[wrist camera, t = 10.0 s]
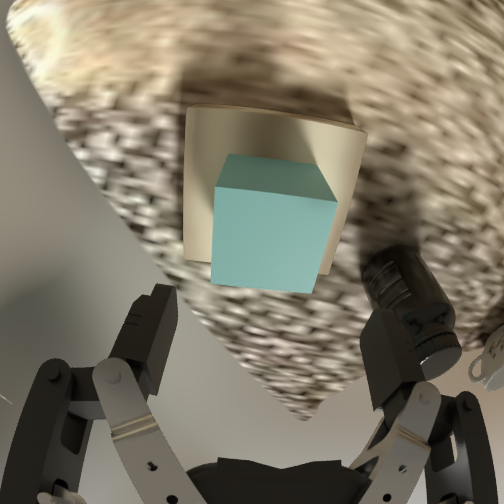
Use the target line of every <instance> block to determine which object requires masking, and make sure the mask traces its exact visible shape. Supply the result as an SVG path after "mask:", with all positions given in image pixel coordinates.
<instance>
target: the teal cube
mask: <svg viewBox="0 0 504 504" xmlns="http://www.w3.org/2000/svg"><path fill="white" fill-rule="evenodd" d="M337 205H338V201H337V199H336V198H335V196H334V194H333V192H332V190H331V188H330V187H329V185H328V183H327V181H326V179H325V178H324V176H323V174H322V172H321V171H320V169H319V167H318V165H312V164H306V163H299V162H292V161H286V160H278V159H271V158H263V157H254V156H245V155H236V154H228V156H227V158H226V161H225V163H224V166H223V168H222V171H221V173H220V176H219V178H218V181H217V183H216V186H215V196H214V214H213V234H212V258H211V283H212V284H221V285H230V286H239V287H248V288H258V289H268V290H278V291H289V292H300V293H312V290H313V287H314V284H315V281H316V278H317V274H318V271H319V268H320V265H321V261H322V258H323V255H324V251H325V248H326V244H327V241H328V237H329V234H330V230H331V227H332V223H333V220H334V216H335V212H336V208H337Z"/></svg>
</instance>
